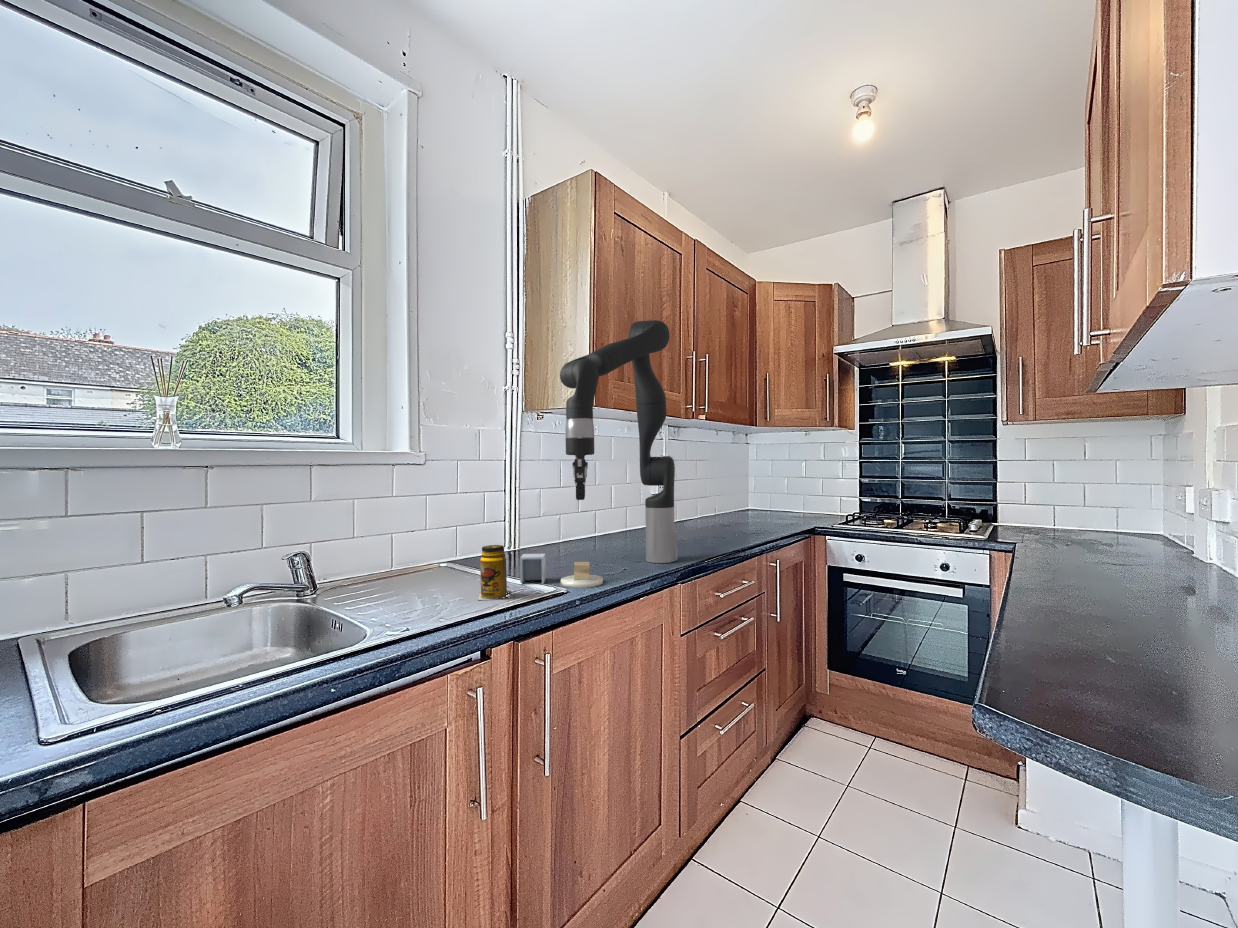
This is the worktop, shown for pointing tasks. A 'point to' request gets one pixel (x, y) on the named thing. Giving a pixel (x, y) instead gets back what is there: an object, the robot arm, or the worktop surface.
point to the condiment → (493, 573)
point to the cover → (532, 567)
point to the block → (581, 570)
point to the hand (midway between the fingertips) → (580, 498)
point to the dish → (581, 582)
